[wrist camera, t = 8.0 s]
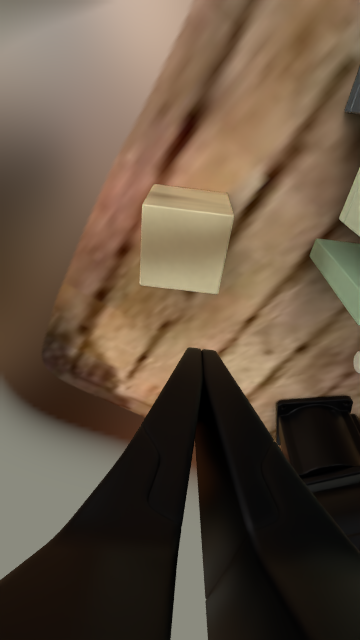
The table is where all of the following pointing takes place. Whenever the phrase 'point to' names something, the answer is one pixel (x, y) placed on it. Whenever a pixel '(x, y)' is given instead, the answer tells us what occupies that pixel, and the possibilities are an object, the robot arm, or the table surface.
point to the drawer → (343, 260)
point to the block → (184, 238)
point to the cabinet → (354, 97)
